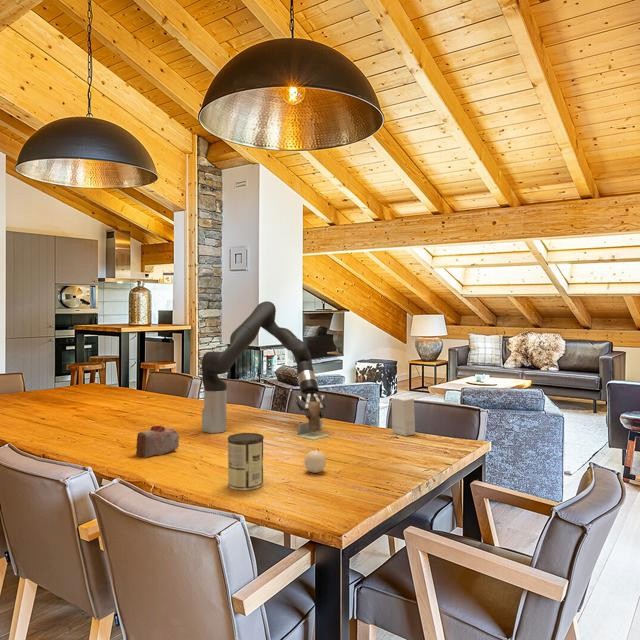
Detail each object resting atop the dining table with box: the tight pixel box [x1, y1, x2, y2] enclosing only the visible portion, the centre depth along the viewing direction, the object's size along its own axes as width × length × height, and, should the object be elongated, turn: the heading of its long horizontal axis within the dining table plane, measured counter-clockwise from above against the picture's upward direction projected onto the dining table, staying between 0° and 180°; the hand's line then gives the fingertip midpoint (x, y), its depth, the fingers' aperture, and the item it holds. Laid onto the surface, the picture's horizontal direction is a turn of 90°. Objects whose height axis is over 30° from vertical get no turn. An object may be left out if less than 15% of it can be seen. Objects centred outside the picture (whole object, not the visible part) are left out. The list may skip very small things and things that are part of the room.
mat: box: [296, 431, 331, 441], centre depth 220 cm, size 10×9×1 cm
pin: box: [308, 401, 321, 432], centre depth 220 cm, size 5×5×11 cm
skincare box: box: [391, 396, 416, 437], centre depth 225 cm, size 8×6×15 cm
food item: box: [135, 425, 180, 459], centre depth 192 cm, size 14×8×10 cm, turn 140°
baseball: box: [303, 450, 327, 474], centre depth 171 cm, size 7×7×7 cm
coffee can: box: [227, 432, 264, 491], centre depth 157 cm, size 10×10×14 cm
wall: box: [297, 419, 323, 435], centre depth 227 cm, size 14×1×4 cm, turn 140°
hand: (315, 417), depth 218 cm, fingers closed on pin, 4 cm apart
